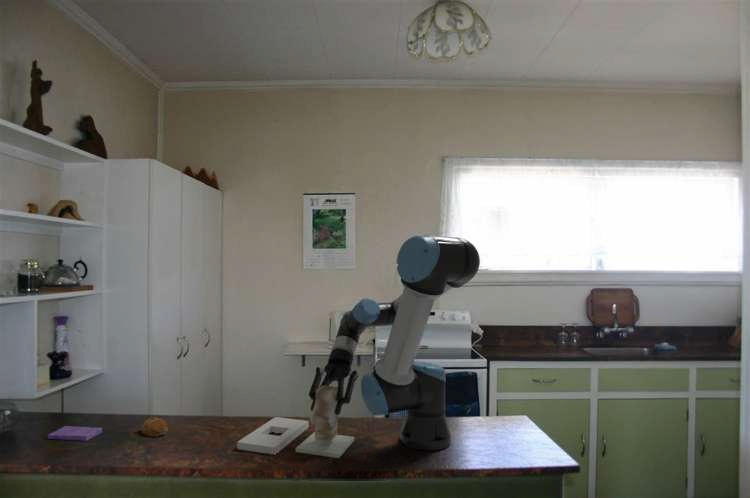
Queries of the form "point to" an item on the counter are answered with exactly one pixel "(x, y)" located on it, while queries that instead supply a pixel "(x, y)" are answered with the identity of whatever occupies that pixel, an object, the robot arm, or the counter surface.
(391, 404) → the robot arm
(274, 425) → the plate with hole
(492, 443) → the counter surface
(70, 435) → the sponges
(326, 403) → the peg
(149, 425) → the pastry
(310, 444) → the tile
